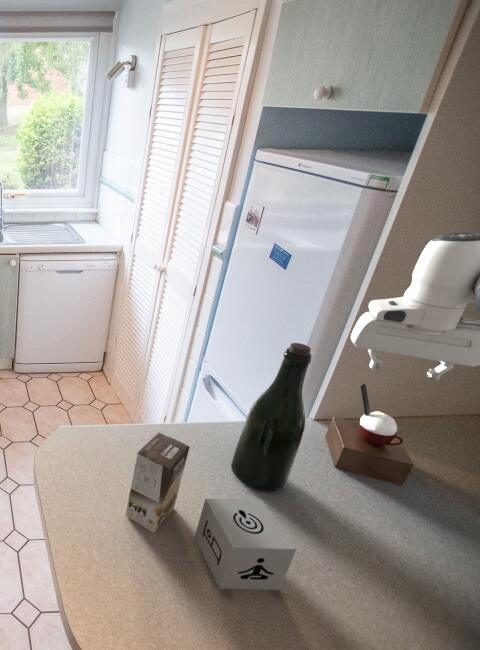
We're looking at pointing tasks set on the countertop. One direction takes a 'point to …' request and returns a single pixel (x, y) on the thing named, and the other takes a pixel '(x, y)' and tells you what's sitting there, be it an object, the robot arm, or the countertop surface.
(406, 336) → the robot arm
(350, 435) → the walnut block
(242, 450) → the beer bottle
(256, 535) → the icon cube
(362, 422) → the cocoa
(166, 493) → the coffee box
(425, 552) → the countertop surface
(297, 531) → the countertop surface
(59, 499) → the countertop surface
